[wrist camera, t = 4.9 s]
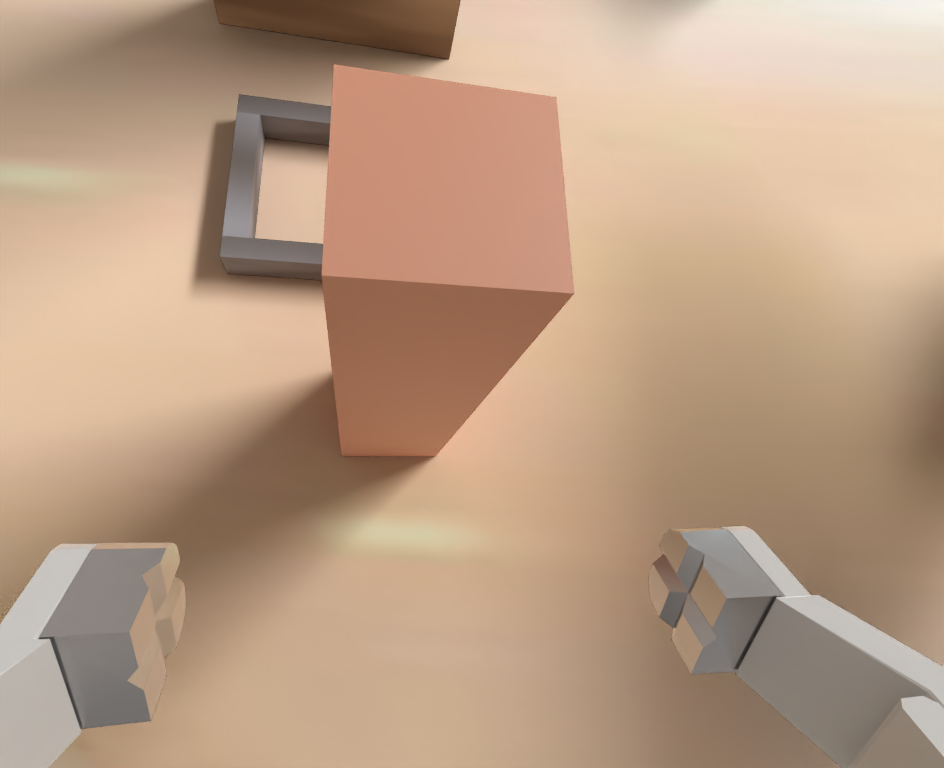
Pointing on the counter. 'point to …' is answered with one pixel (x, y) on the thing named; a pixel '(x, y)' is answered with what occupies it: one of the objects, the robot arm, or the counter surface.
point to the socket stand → (308, 108)
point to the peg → (435, 250)
